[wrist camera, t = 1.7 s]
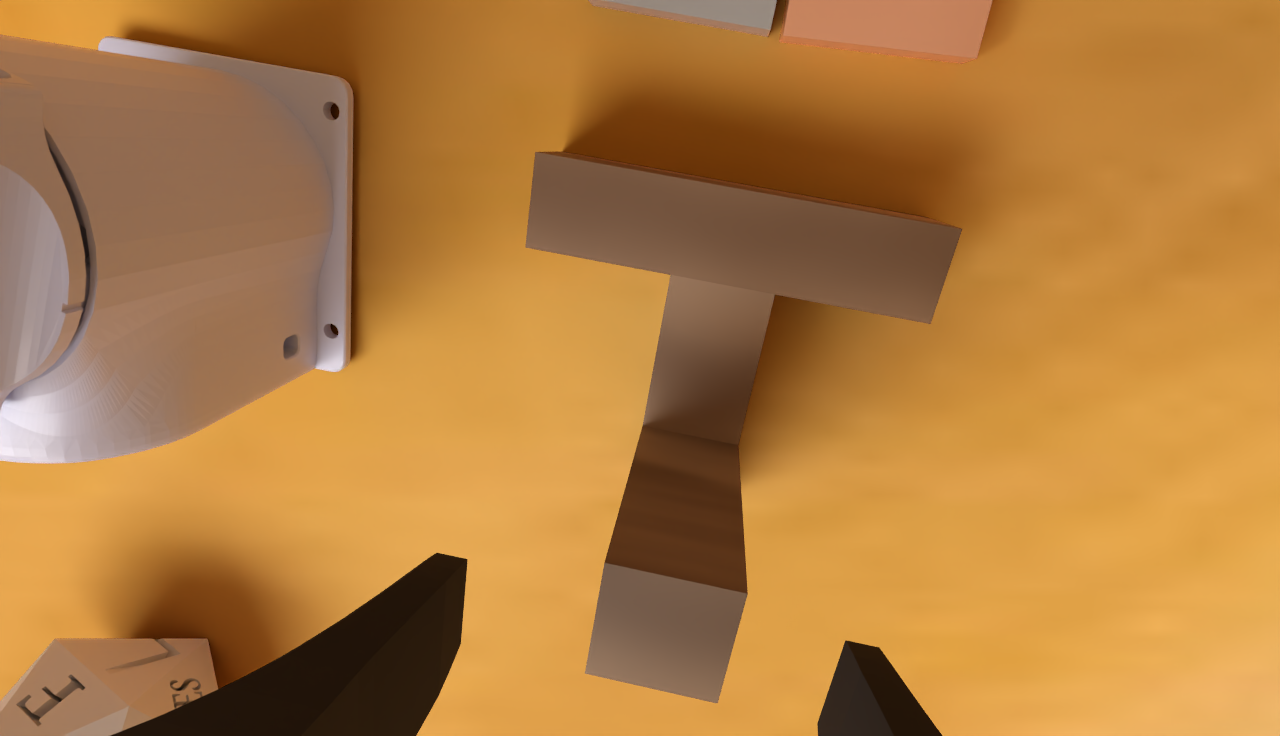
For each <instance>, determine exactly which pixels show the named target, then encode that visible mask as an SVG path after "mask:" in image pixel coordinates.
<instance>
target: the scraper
mask: <svg viewBox="0 0 1280 736" xmlns="http://www.w3.org/2000/svg"><path fill="white" fill-rule="evenodd" d="M961 231H962V229H961V228H958V227H955V226H951V225H948V224H945V223H942V222H939V221H936V220H933V219H930V218H927V217H922V216H917V215H911V214H906V213H900V212H895V211H889V210H884V209H878V208H872V207H867V206H861V205H856V204H850V203H845V202H839V201H834V200H828V199H822V198H817V197H811V196H806V195H800V194H795V193H789V192H784V191H778V190H772V189H767V188H761V187H756V186H750V185H745V184H739V183H734V182H728V181H722V180H717V179H711V178H706V177H700V176H695V175H689V174H684V173H678V172H672V171H667V170H661V169H656V168H650V167H645V166H639V165H634V164H628V163H622V162H617V161H611V160H606V159H600V158H595V157H589V156H584V155H578V154H572V153H567V152H535V162H534V171H533V181H532V190H531V200H530V209H529V219H528V229H527V238H526V248H532V249H537V250H542V251H548V252H553V253H558V254H563V255H569V256H574V257H579V258H585V259H590V260H595V261H600V262H606V263H611V264H616V265H622V266H627V267H632V268H637V269H643V270H648V271H653V272H659V273H664V274H669V275H671V276H670V282H669V287H668V292H667V298H666V303H665V309H664V314H663V319H662V325H661V330H660V336H659V341H658V347H657V352H656V357H655V363H654V368H653V374H652V379H651V384H650V390H649V395H648V401H647V406H646V411H645V417H644V422H643V427H642V431H641V434H640V438H639V441H638V445H637V448H636V452H635V456H634V459H633V463H632V466H631V470H630V474H629V477H628V481H627V484H626V488H625V492H624V495H623V499H622V502H621V506H620V509H619V513H618V517H617V520H616V524H615V527H614V531H613V535H612V538H611V542H610V545H609V549H608V552H607V556H606V560H605V563H604V569H603V575H602V580H601V586H600V592H599V597H598V603H597V609H596V614H595V620H594V626H593V631H592V637H591V643H590V648H589V654H588V660H587V665H586V671H585V674H590V675H594V676H599V677H603V678H608V679H612V680H616V681H621V682H625V683H630V684H634V685H638V686H643V687H647V688H652V689H656V690H660V691H665V692H669V693H674V694H678V695H683V696H687V697H691V698H696V699H700V700H705V701H709V702H713V703H718V700H719V696H720V692H721V689H722V685H723V681H724V678H725V674H726V670H727V667H728V663H729V659H730V656H731V652H732V649H733V645H734V641H735V638H736V634H737V630H738V627H739V623H740V619H741V616H742V612H743V608H744V605H745V601H746V597H747V594H748V593H747V577H746V561H745V545H744V529H743V513H742V497H741V481H740V465H739V449H738V444H739V440H740V436H741V432H742V428H743V424H744V420H745V415H746V411H747V407H748V403H749V399H750V395H751V391H752V387H753V383H754V379H755V374H756V370H757V366H758V362H759V358H760V354H761V350H762V346H763V342H764V338H765V333H766V329H767V325H768V321H769V317H770V313H771V309H772V305H773V301H774V297H775V295H780V296H785V297H791V298H796V299H801V300H806V301H812V302H817V303H822V304H828V305H833V306H838V307H843V308H849V309H854V310H859V311H865V312H870V313H875V314H880V315H886V316H891V317H896V318H902V319H907V320H912V321H917V322H923V323H928V324H931V321H932V318H933V315H934V312H935V309H936V306H937V303H938V300H939V297H940V294H941V291H942V288H943V285H944V282H945V279H946V276H947V273H948V270H949V267H950V264H951V261H952V258H953V255H954V252H955V249H956V246H957V243H958V240H959V237H960V234H961Z"/></svg>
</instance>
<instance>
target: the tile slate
mask: <svg viewBox="0 0 1280 736" xmlns="http://www.w3.org/2000/svg"><path fill="white" fill-rule="evenodd" d="M588 1H589V2H590V3H591V4H592V5H593V6H597V7H603V8H608V9H614V10H620V11H625V12H631V13H636V14H642V15H648V16H653V17H659V18H665V19H670V20H676V21H681V22H687V23H693V24H698V25H704V26H710V27H715V28H721V29H726V30H732V31H738V32H743V33H749V34H755V35H760V36H766V37H768V35H769V32H770V30H771V25H772V21H773V16H774V12H775V7H776V2H777V0H588Z"/></svg>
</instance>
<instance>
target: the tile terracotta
mask: <svg viewBox="0 0 1280 736" xmlns="http://www.w3.org/2000/svg"><path fill="white" fill-rule="evenodd" d="M992 1H993V0H786V5H785V11H784V17H783V22H782V28H781V34H780V39H779V42H783V43H791V44H800V45H808V46H817V47H825V48H834V49H842V50H850V51H859V52H867V53H876V54H884V55H893V56H901V57H910V58H918V59H926V60H935V61H943V62H952V63H960V64H963V63H966V62H969V61H971V60H974V59H977V56H978V52H979V49H980V45H981V41H982V38H983V34H984V30H985V27H986V23H987V19H988V16H989V12H990V8H991V5H992Z"/></svg>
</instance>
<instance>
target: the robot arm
mask: <svg viewBox="0 0 1280 736" xmlns="http://www.w3.org/2000/svg"><path fill="white" fill-rule="evenodd" d="M334 103H335V104H336V105H337V106H338V107H339V112H340V113H339V117H338V118H337V119H336V120H335V119H334V118H333V117H332V115H331V111H330V109H331V106H332V105H333V104H334ZM352 182H353V91H352V88H351V86H350V84H349V83H348V82H347V81H346V80H345V79H343V78H341V77H338V76H334V75H328V74H322V73H317V72H311V71H305V70H300V69H294V68H288V67H283V66H277V65H271V64H266V63H260V62H254V61H249V60H243V59H237V58H232V57H226V56H221V55H215V54H209V53H204V52H198V51H192V50H187V49H181V48H175V47H170V46H164V45H158V44H153V43H147V42H141V41H136V40H130V39H124V38H119V37H113V36H108V37H105V38H103V39H102V40H101V41H100V43H99V48H98V50H93V49H87V48H81V47H74V46H68V45H62V44H56V43H49V42H43V41H37V40H31V39H24V38H18V37H12V36H6V35H0V461H10V462H21V463H75V462H86V461H94V460H101V459H107V458H113V457H118V456H123V455H128V454H132V453H137V452H141V451H145V450H149V449H152V448H156V447H159V446H162V445H166V444H169V443H172V442H174V441H177V440H180V439H182V438H185V437H187V436H189V435H191V434H193V433H195V432H198V431H200V430H201V429H203V428H205V427H207V426H209V425H211V424H213V423H214V422H216V421H218V420H220V419H222V418H224V417H225V416H227V415H229V414H231V413H233V412H235V411H237V410H238V409H240V408H242V407H244V406H246V405H248V404H250V403H251V402H253V401H255V400H257V399H259V398H261V397H263V396H264V395H266V394H268V393H270V392H272V391H274V390H275V389H277V388H279V387H281V386H283V385H285V384H287V383H288V382H290V381H292V380H294V379H296V378H298V377H300V376H301V375H303V374H305V373H307V372H309V371H311V370H312V369H314V368H316V369H321V370H326V371H331V372H338V371H340V370H342V369H344V368H346V367H347V366H348V364H349V362H350V351H351V266H352ZM331 324H333V325H335V326H336V327H337V329H338V332H339V333H338V335H335V334H334V333H333V332H332V331H331V328H330V325H331ZM466 571H467V559H463V558H459V557H454V556H449V555H445V554H440V553H436V554H434V555H433V556H431V557H430V558H428V559H427V560H425V561H424V562H422V563H421V564H420V565H418V566H417V567H416V568H414V569H413V570H411V571H410V572H409V573H407V574H406V575H405V576H403V577H402V578H401V579H399V580H398V581H396V582H395V583H394V584H392V585H391V586H389V587H388V588H387V589H385V590H384V591H382V592H381V593H380V594H378V595H377V596H375V597H374V598H372V599H371V600H370V601H368V602H367V603H365V604H364V605H362V606H361V607H359V608H358V609H356V610H355V611H353V612H352V613H351V614H349V615H348V616H346V617H345V618H343V619H342V620H340V621H339V622H337V623H335V624H334V625H332V626H331V627H329V628H327V629H326V630H324V631H323V632H321V633H319V634H318V635H316V636H315V637H313V638H311V639H310V640H308V641H307V642H305V643H303V644H302V645H300V646H299V647H297V648H295V649H294V650H292V651H290V652H288V653H287V654H285V655H283V656H281V657H280V658H278V659H276V660H274V661H273V662H271V663H269V664H267V665H265V666H263V667H262V668H260V669H258V670H256V671H254V672H252V673H250V674H248V675H246V676H244V677H242V678H240V679H239V680H237V681H235V682H233V683H230V684H228V685H226V686H224V687H222V688H220V689H218V690H216V691H213V692H211V693H209V694H207V695H205V696H202V697H200V698H198V699H196V700H194V701H191V702H189V703H187V704H185V705H183V706H180V707H178V708H176V709H174V710H172V711H169V712H167V713H165V714H163V715H160V716H158V717H155V718H153V719H151V720H148V721H146V722H143V723H141V724H138V725H136V726H133V727H131V728H128V729H126V730H123V731H121V732H118V733H115V734H113V735H110V736H416V735H417V733H418V731H419V730H420V728H421V726H422V724H423V723H424V721H425V719H426V717H427V715H428V714H429V712H430V710H431V708H432V707H433V705H434V703H435V701H436V699H437V697H438V696H439V693H440V691H441V689H442V687H443V684H444V682H445V680H446V678H447V675H448V673H449V671H450V668H451V666H452V663H453V661H454V659H455V656H456V654H457V651H458V649H459V647H460V644H461V633H462V621H463V608H464V596H465V583H466ZM818 736H942V734H941V733H940V732H939V730H938V729H937V728H936V726H935V725H934V724H933V722H932V721H931V720H930V718H929V717H928V715H927V714H926V713H925V711H924V710H923V708H922V707H921V706H920V704H919V703H918V701H917V700H916V699H915V697H914V696H913V694H912V693H911V692H910V690H909V689H908V687H907V686H906V685H905V683H904V682H903V680H902V679H901V678H900V676H899V675H898V673H897V672H896V670H895V669H894V668H893V666H892V665H891V663H890V662H889V661H888V659H887V658H886V656H885V655H884V654H883V652H882V651H881V650H880V648H879V647H874V646H869V645H865V644H860V643H855V642H851V641H845V644H844V647H843V650H842V653H841V656H840V659H839V661H838V664H837V667H836V670H835V673H834V676H833V679H832V682H831V685H830V688H829V691H828V694H827V697H826V700H825V703H824V706H823V709H822V712H821V715H820V718H819V721H818Z"/></svg>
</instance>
